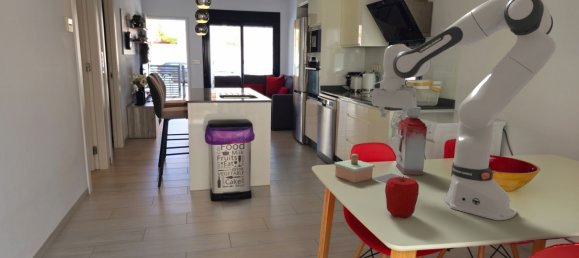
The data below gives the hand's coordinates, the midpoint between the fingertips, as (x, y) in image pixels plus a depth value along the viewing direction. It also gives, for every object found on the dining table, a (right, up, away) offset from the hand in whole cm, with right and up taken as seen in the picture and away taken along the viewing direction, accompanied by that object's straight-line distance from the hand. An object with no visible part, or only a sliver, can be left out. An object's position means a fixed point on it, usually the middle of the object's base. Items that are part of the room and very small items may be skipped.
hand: (392, 118), depth 156 cm
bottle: (+12, -24, +17) cm, 32 cm away
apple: (-7, -33, -33) cm, 47 cm away
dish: (-16, -26, +5) cm, 30 cm away
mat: (+1, -26, +3) cm, 27 cm away
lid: (-15, -20, +4) cm, 26 cm away
